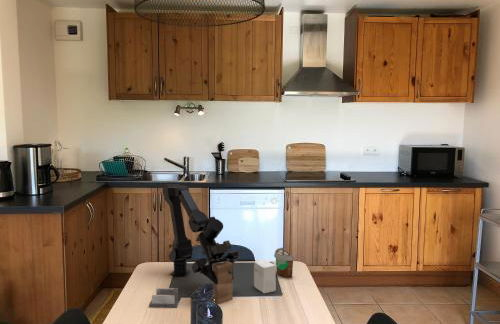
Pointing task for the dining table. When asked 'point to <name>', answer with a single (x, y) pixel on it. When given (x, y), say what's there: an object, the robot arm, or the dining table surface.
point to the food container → (283, 263)
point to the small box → (265, 276)
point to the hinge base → (165, 298)
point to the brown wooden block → (223, 282)
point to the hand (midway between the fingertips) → (225, 281)
